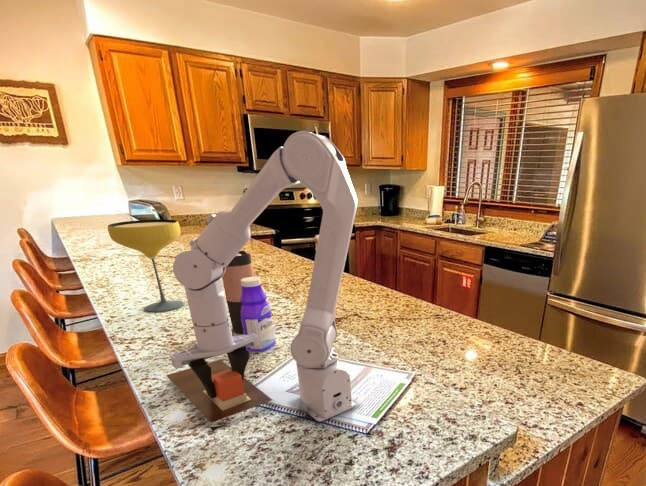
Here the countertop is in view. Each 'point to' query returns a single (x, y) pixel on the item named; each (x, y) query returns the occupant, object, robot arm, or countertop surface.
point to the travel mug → (236, 286)
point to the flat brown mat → (208, 406)
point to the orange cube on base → (228, 388)
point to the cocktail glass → (148, 247)
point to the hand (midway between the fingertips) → (225, 391)
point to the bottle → (256, 314)
